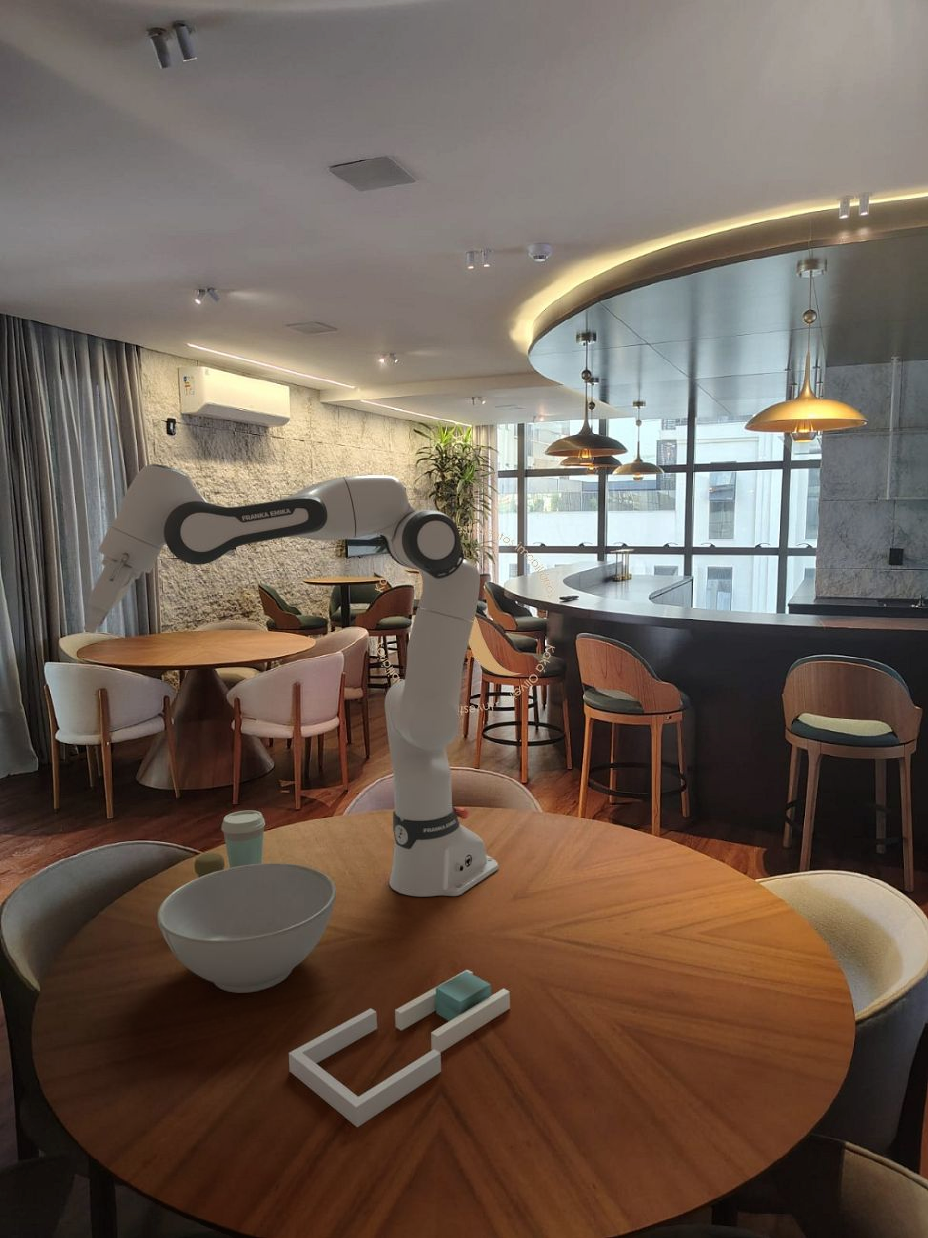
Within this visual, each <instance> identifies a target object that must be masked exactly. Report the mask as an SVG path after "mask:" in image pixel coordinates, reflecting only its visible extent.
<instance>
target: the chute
mask: <svg viewBox="0 0 928 1238" xmlns="http://www.w3.org/2000/svg"><path fill="white" fill-rule="evenodd" d="M466 971H467V972H469V973H470V974H472V975H474V972H473V971H472V970H470V969H465V970H464V971H462V972H459V973H458V974H456V975H455V976H453V977H451V978H449V979H447V980H446V981H444V982H442V983H440V984H439V985H437V986H436V987H438V986H440V985H442V984H444V983H445V982H447V981H449V980H451V979H453V978H455V977H456V976H458V975H460V974H462V973H464V972H466ZM436 987H435V986H434V987H433V988H432V989H430V990H428V991H426V992H425V993H423V994H421V995H419V996H418V997H416V998H413V999H412V1000H410V1001H408V1002H407V1003H405V1004H403V1005H402V1006H399V1007H398V1008H395V1009H394V1014H395V1015H394V1019H395V1028H396V1029H398V1030H400V1032H401V1031H403V1030H405V1029H407V1028H408V1027H410V1026H412V1025H413V1024H415V1023H417V1022H418V1021H420V1020H422V1019H424V1018H425V1017H427V1016H429V1015H430V1014H433V1013H434V1012H436ZM509 1009H511V995H510V991H509V990H507V989H506V988H502V989H500V990H499V991H497V992H496V993H494V994H491V996H490V997H489V998H487V999H485V1000H484V1001H482V1002H480V1003H479V1004H477V1005H475V1006H474V1007H472V1008H471V1009H469V1010H467V1011H466V1012H464V1013H462V1014H461V1015H459V1016H457V1017H456V1018H454V1019H453V1020H451V1021H448V1022H446V1023H444V1024H443V1025H441V1026H439V1027H437V1028H436V1029H435V1030H433V1031H431V1032H430V1039H431V1042H430V1043H431V1051H432V1050H433V1049H435V1050H436V1051H438V1052H439V1053H442V1052H444V1051H445V1050H447V1049H449V1048H450V1047H451V1046H453V1045H455V1044H456V1043H458V1042H460V1041H461V1040H463V1039H465V1038H466V1037H467V1036H469V1035H471V1034H472V1033H474V1032H475V1031H477V1030H479V1029H480V1028H481V1027H483V1026H485V1025H486V1024H488V1023H489V1022H491V1021H492V1020H493V1019H495V1018H496V1017H498V1016H501V1015H502V1014H503V1013H505V1012H506V1011H508V1010H509Z"/></svg>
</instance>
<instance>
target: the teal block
mask: <svg viewBox="0 0 928 1238" xmlns="http://www.w3.org/2000/svg"><path fill="white" fill-rule="evenodd" d="M463 972H464V971H463ZM461 973H462V972H461ZM459 974H460V973H459ZM457 975H458V974H457ZM457 975H455V976H456V977H455V976H454V977H455V978H453V977H452V978H453V979H451V978H450V979H451V980H449V979H448V980H449V981H448V980H446V981H447V982H446V981H444V982H445V983H444V982H443V983H444V984H442V983H441V984H442V985H440V984H439V985H440V986H439V985H437V986H438V987H437V986H436V1011H435V1012H436V1014H437V1015H438V1016H439V1017H441V1018H443V1019H444V1020H446V1021H448V1022H449V1021H451V1020H453V1019H454V1018H456V1017H457V1016H459V1015H461V1014H462V1013H464V1012H466V1011H467V1010H469V1009H471V1008H472V1007H474V1006H475V1005H477V1004H479V1003H480V1002H482V1001H484V1000H485V999H487V998H489V997H490V996H492V991H491V990H492V986H491V985H492V984H491V983H489V982H488V981H485V980H483V979H482V978H481V977H480V978H479V977H478V976H476V975H474V974H473V975H472V974H470V973H469V972H467V971H466V972H464V973H462V974H460V975H458V976H457Z"/></svg>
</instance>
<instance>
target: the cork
mask: <svg viewBox="0 0 928 1238" xmlns="http://www.w3.org/2000/svg"><path fill="white" fill-rule="evenodd" d="M225 864H226V863H225V858H224V856H223V855H222V854H221V853H218V852H208V853H204V854H201V855H199V856H198V857H197V858H196V859H195V862H194V871H195V873H196V875H197V876H198V877H197V878H199V877H202V876H205V875H207V874H210V873H213V872H217V871H220V870H224V869H225Z"/></svg>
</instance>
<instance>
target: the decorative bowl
mask: <svg viewBox="0 0 928 1238" xmlns="http://www.w3.org/2000/svg"><path fill="white" fill-rule="evenodd" d="M336 898H337V887H336V884H335V883H334V880H332V878H331V877H330V876H328V875H327V874H326V873H325V872H323V871H320V870H318V869H316V868H314V867H309V866H306V865H302V864H294V863H285V862H267V863H266V862H265V863H263V862H262V864H251V865H244V866H238V867H233V868H230V867H229V868H224V869H223V870H220V871H217V872H213V873H210V874H207V875H205V876H202V877H199V878H198V877H196V878H195V879H192V880H191V881H188V882H187V883H185V884H183V885H181V886H180V887H178V888H177V889H175V890H174V891H172V892H171V893H170V894H169V895H167V896H166V898H164V900H163V902H161V904H160V906H159V908H158V911H157V923H158V926H159V929H160V931H161V933H162V936H163V938H164V940H165V942H166V944H167V945H168V947H169V949H170V950H171V952H172V953H173V954H174V956H175V957H176V958H177V959H178V960H179V961H180V963H181V964H183V965H184V966H185V967H186V968H187V969H188V970H190V971H191V972H192V973H193V974H195V975H197V976H198V977H200V978H202V979H203V980H205V981H206V980H207V981H208V982H212V983H213V984H214V985H215V986H216V987H217V988H219V989H221V990H222V991H225V992H231V993H239V994H242V993H243V994H245V993H254V992H260V991H264V990H266V989H269V988H271V987H274V986H276V985H278V984H280V983H281V982H282V981H284V980H286V979H287V978H288V977H289V975H290V974H291V973H292V972H293V969H294V968H295V967H297V966H298V965H299V964H301V963H302V962H303V961H304V960H305V959H306V958H307V957H308V956H309V955H310V953H311V952H312V951H314V949H315V947H316V946H317V944H318V943H319V942H320V940H321V939H322V936H323V934H324V933H325V932H326V929H327V927H328V925H329V922H330V919H331V917H332V913H333V910H334V907H335V902H336Z"/></svg>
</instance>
